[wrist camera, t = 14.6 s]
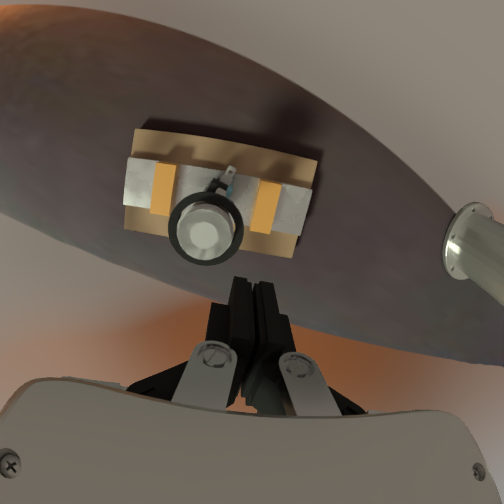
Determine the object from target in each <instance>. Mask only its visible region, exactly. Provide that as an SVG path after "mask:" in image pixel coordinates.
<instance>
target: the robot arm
mask: <svg viewBox="0 0 504 504" xmlns="http://www.w3.org/2000/svg"><path fill="white" fill-rule="evenodd" d="M443 264H444V266H445V269H446V271H447V272H448V273H449V274H450V275H451V276H452V277H454V278H455V279H458V280H464V279H467V278H470V279H472V280H473V281H474V282H475V283H477V284H478V285H479V286H480V287H482V288H483V289H484V290H485V291H486V292H488V293H489V294H490V295H491V296H492V297H494V298H495V299H496V300H497V301H498V302H499V303H500V304H502V305H503V306H504V225H503V224H501V223H499V222H496V221H495V220H494V217H493V215H492V212H491V211H490V209H489V208H488V207H487V206H486V205H484V204H482V203H478V202H472V203H469V204H467V205H465V206H464V207H463V208H461V209H460V210H459V212H458V213H457V214H456V215H455V217H454V218H453V220H452V221H451V223H450V225H449V227H448V230H447V233H446V236H445V239H444V244H443ZM240 387H241V397H245V398H246V405H247V406H253V407H254V408H255V409H257V413H245V412H236V411H227V410H225V409H226V408H227V407H228V406H230V405H232V404H233V403H234V401H235V398H236V397H237V396H238V393H239V390H240ZM0 504H502V502H501V498H500V496H499V492H498V490H497V487H496V485H495V482H494V480H493V478H492V475H491V472H490V470H489V468H488V466H487V463H486V461H485V459H484V457H483V455H482V453H481V451H480V449H479V447H478V445H477V443H476V441H475V439H474V438H473V436H472V434H471V433H470V431H469V429H468V428H467V427H466V425H465V424H464V422H463V421H462V420H461V419H460V418H459V417H457V416H455V415H453V414H451V413H448V412H443V411H439V410H412V411H399V412H381V411H373V410H368V411H367V412H365V411H364V410H363V409H362V408H361V407H360V406H358V405H357V404H355V403H354V402H352V401H350V400H349V399H347V398H346V397H344V396H342V395H341V394H340V393H338V392H336V391H335V390H333V389H332V388H331V387H329V386H327V383H326V381H325V379H324V377H323V375H322V373H321V371H320V369H319V367H318V365H317V364H316V362H315V361H314V360H313V359H312V358H311V357H309V356H307V355H305V354H302V353H299V352H296V348H295V345H294V340H293V336H292V332H291V327H290V323H289V319H288V316H287V315H284V314H279V309H278V304H277V299H276V294H275V289H274V284H273V283H269V282H264V281H260V282H259V284H256V283H255V284H254V287H253V291H252V284H251V282H247V278H242V277H236V276H234V279H233V283H232V287H231V292H230V297H229V301H228V305H224V304H218V303H213V302H212V303H211V309H210V314H209V320H208V326H207V332H206V339H205V341H204V342H201V343H199V344H198V345H196V347H195V348H194V350H193V352H192V354H191V356H190V359H189V360H188V361H186V362H184V363H182V364H179V365H177V366H175V367H172V368H170V369H167V370H165V371H163V372H160V373H158V374H155V375H153V376H150V377H148V378H145V379H143V380H140V381H138V382H135V383H133V384H132V385H130V386H129V387H122V386H121V385H120V383H113V382H103V381H96V380H89V379H82V378H75V377H61V378H57V377H56V378H54V377H46V378H37V379H33V380H30V381H28V382H26V383H24V384H23V385H22V386H21V387H19V388H18V389H17V390H16V391H15V392H14V394H13V395H12V396H11V397H10V399H9V400H8V401H7V403H6V404H5V405H4V407H3V409H2V410H1V411H0Z"/></svg>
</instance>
